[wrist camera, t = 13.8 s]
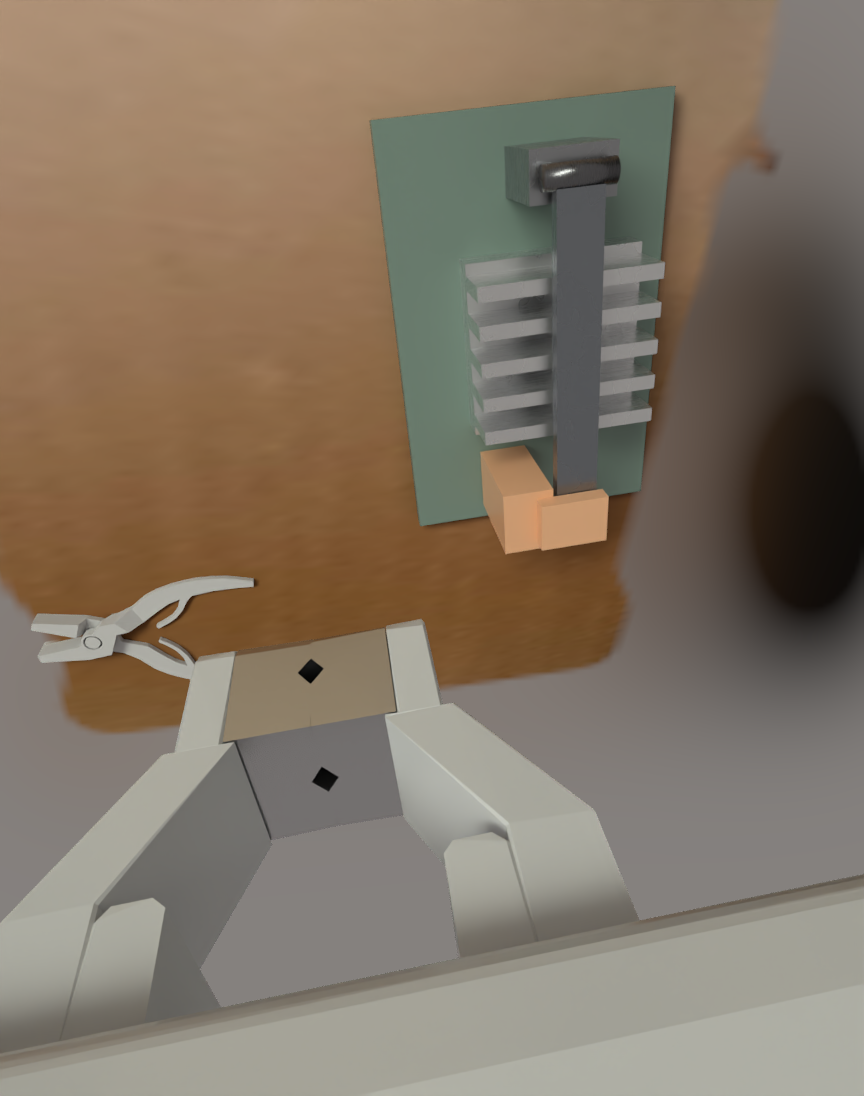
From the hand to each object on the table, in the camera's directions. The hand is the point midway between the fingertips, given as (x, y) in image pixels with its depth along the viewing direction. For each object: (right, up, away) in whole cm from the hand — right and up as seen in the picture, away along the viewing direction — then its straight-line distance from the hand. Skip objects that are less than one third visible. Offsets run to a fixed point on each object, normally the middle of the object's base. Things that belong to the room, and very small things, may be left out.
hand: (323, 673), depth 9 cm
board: (+7, +15, +33) cm, 37 cm away
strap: (+9, +12, +28) cm, 31 cm away
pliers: (-19, -4, +41) cm, 45 cm away
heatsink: (+8, +17, +30) cm, 36 cm away
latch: (+8, +7, +37) cm, 38 cm away
